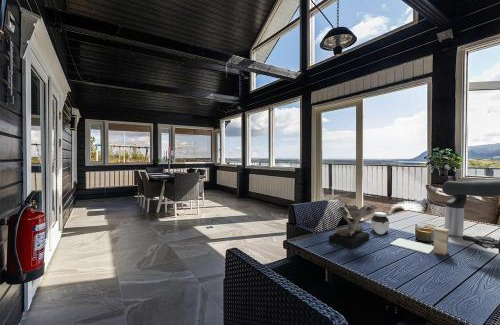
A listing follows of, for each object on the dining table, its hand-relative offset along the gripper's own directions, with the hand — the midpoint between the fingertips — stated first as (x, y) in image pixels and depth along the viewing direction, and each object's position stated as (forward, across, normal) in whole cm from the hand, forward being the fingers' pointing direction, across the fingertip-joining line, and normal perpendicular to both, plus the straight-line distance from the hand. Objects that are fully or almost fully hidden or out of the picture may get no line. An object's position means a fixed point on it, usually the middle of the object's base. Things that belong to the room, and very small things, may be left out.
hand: (463, 237), depth 125 cm
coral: (+45, +17, +10) cm, 49 cm away
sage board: (+21, 0, +10) cm, 23 cm away
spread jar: (+43, -12, +10) cm, 45 cm away
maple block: (+9, 0, +10) cm, 13 cm away
